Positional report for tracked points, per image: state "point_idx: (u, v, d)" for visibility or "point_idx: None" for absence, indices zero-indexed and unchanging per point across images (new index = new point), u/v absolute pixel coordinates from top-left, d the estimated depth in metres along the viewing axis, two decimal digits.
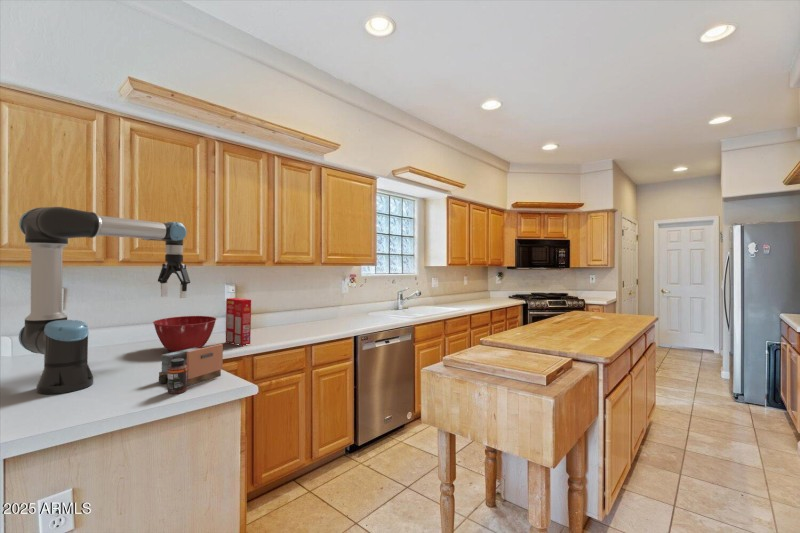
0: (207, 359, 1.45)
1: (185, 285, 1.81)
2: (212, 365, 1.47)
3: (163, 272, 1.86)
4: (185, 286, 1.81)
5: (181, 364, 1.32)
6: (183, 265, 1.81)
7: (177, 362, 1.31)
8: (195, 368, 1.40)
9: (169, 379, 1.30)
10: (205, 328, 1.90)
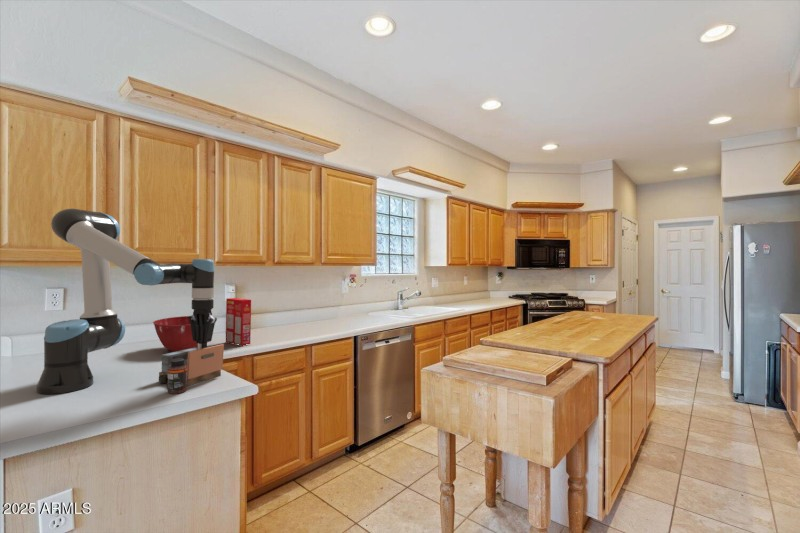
0: (208, 359, 1.44)
1: (205, 344, 1.45)
2: (212, 365, 1.47)
3: (194, 326, 1.46)
4: (205, 345, 1.45)
5: (181, 364, 1.32)
6: (213, 320, 1.43)
7: (177, 362, 1.31)
8: (195, 368, 1.40)
9: (169, 379, 1.30)
10: None
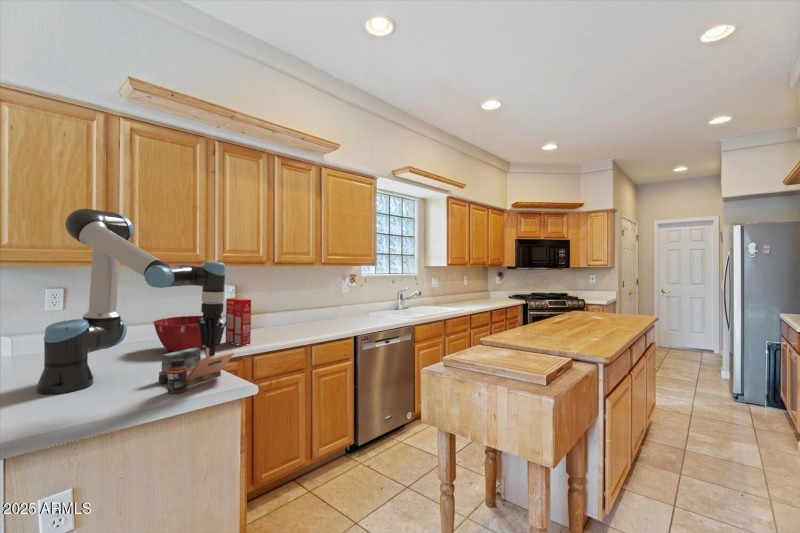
0: (213, 364, 1.43)
1: (213, 348, 1.43)
2: (215, 368, 1.46)
3: (203, 329, 1.44)
4: (213, 349, 1.43)
5: (181, 364, 1.32)
6: (223, 325, 1.41)
7: (177, 362, 1.31)
8: (199, 372, 1.39)
9: (169, 379, 1.30)
10: None
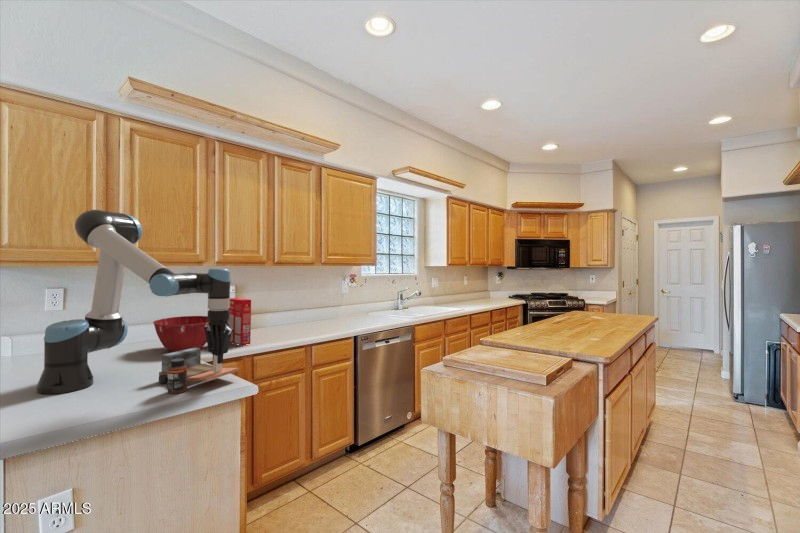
0: None
1: (221, 356, 1.41)
2: None
3: (210, 337, 1.43)
4: (221, 357, 1.41)
5: (181, 364, 1.32)
6: (230, 331, 1.39)
7: (177, 362, 1.31)
8: None
9: (169, 379, 1.30)
10: None
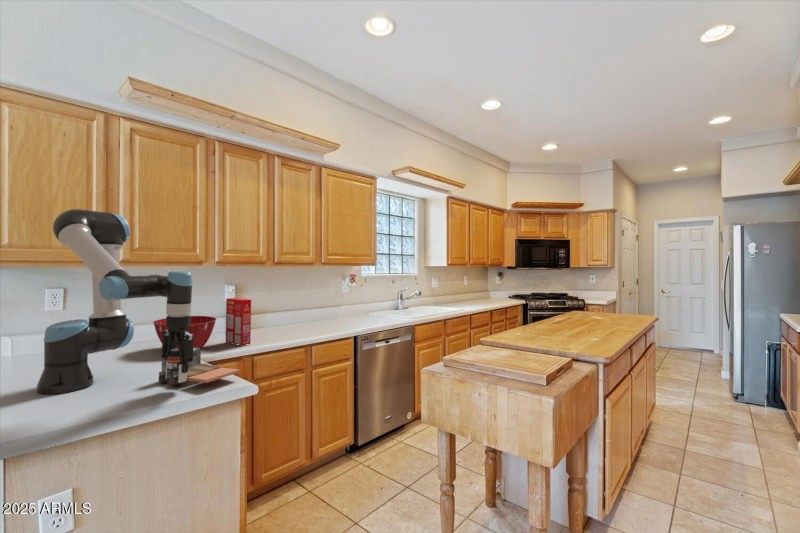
0: None
1: (186, 365, 1.31)
2: None
3: (166, 342, 1.35)
4: (186, 366, 1.31)
5: None
6: (190, 337, 1.30)
7: (176, 352, 1.31)
8: None
9: (168, 368, 1.31)
10: (205, 328, 1.90)
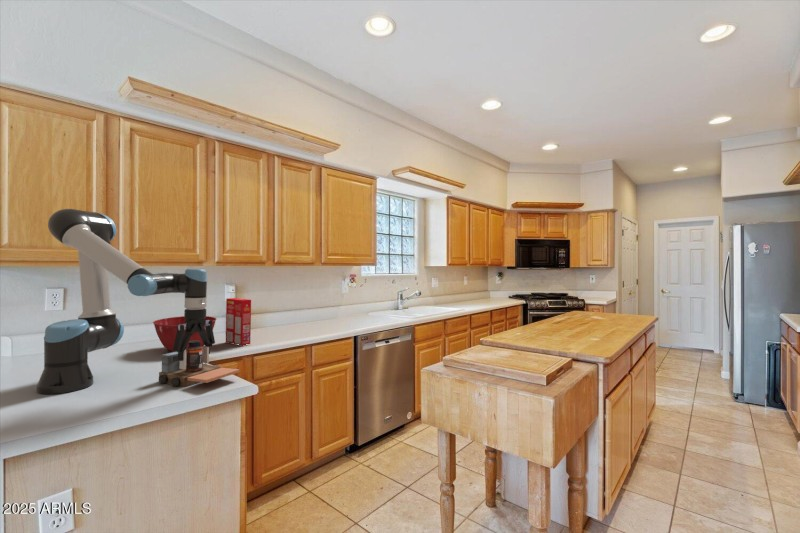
0: None
1: (179, 353, 1.41)
2: None
3: (207, 331, 1.52)
4: (179, 354, 1.41)
5: (190, 345, 1.45)
6: (178, 327, 1.40)
7: None
8: None
9: None
10: (205, 328, 1.90)
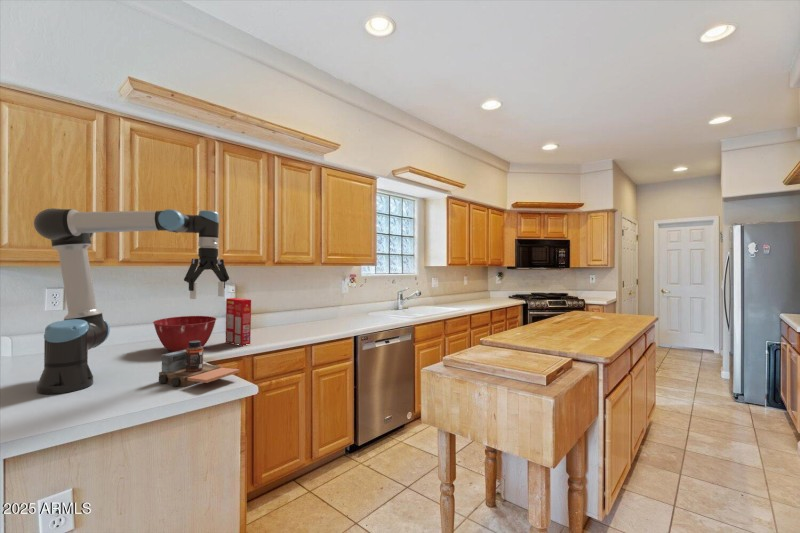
0: None
1: (189, 283, 1.52)
2: None
3: (220, 269, 1.66)
4: (189, 285, 1.52)
5: (190, 346, 1.45)
6: (193, 260, 1.53)
7: (189, 343, 1.46)
8: None
9: None
10: (205, 328, 1.90)
